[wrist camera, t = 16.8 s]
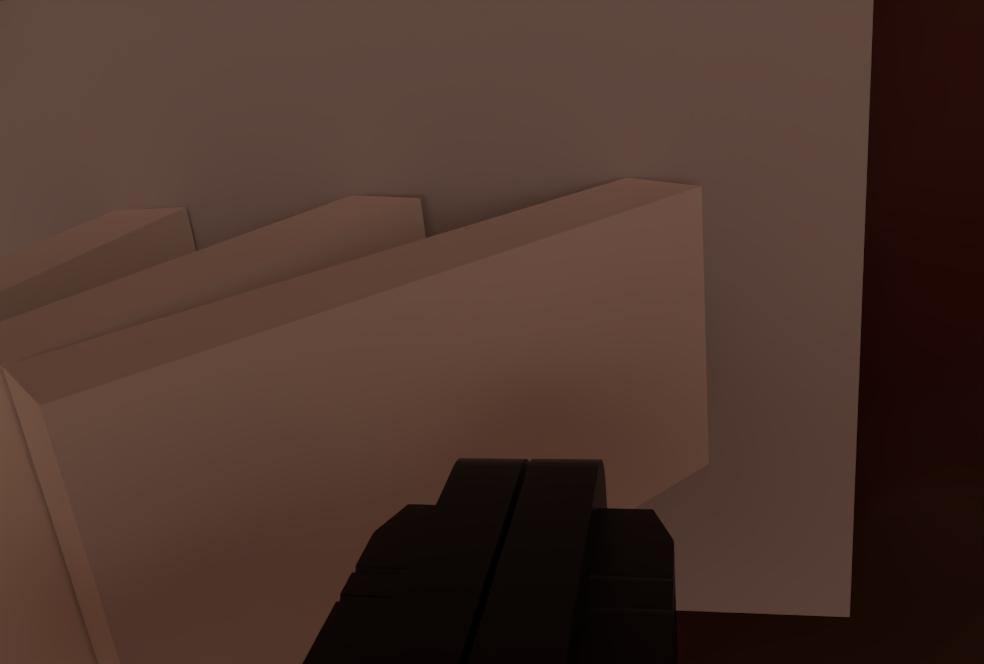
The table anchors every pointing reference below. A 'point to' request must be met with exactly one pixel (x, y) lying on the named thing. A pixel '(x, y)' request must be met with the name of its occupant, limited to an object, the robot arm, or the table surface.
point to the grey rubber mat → (516, 189)
